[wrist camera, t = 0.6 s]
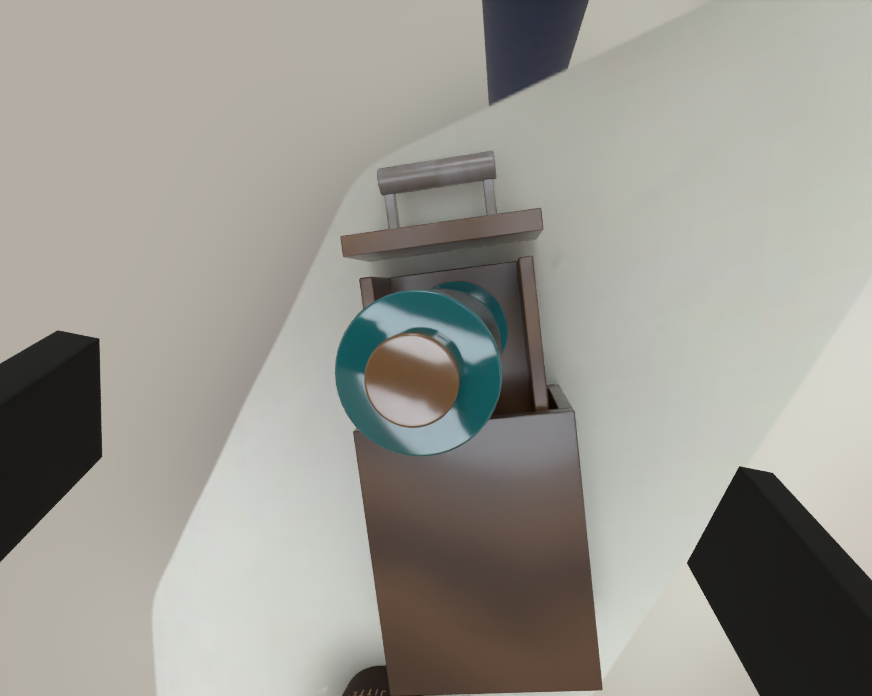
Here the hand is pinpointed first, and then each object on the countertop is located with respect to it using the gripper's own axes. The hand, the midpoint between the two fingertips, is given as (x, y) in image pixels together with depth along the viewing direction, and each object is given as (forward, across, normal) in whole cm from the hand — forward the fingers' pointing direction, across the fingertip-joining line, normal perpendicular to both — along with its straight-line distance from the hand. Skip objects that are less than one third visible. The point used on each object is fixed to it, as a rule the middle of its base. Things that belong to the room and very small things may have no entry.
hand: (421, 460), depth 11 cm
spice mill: (+24, +3, -6) cm, 25 cm away
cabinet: (+22, +8, -18) cm, 30 cm away
